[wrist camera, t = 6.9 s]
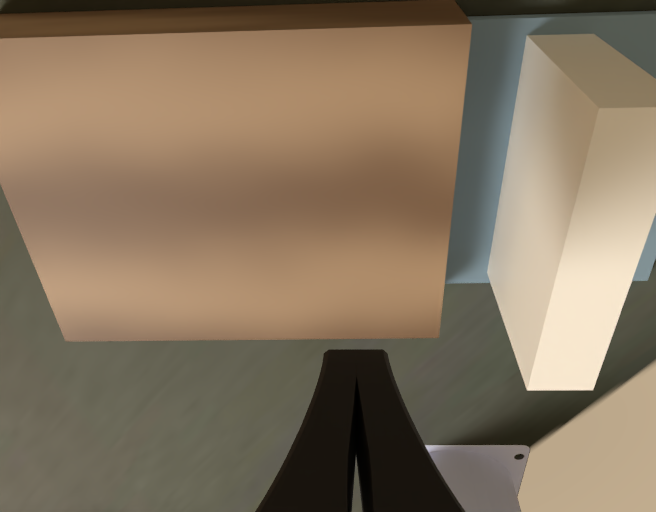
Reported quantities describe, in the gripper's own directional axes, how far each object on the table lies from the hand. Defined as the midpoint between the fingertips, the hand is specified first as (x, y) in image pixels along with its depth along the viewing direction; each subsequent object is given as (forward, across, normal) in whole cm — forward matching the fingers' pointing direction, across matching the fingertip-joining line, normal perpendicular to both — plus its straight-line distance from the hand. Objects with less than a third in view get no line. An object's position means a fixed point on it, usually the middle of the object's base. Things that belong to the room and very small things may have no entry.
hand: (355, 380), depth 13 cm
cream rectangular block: (+6, -5, -1) cm, 8 cm away
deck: (+9, +4, -1) cm, 10 cm away
